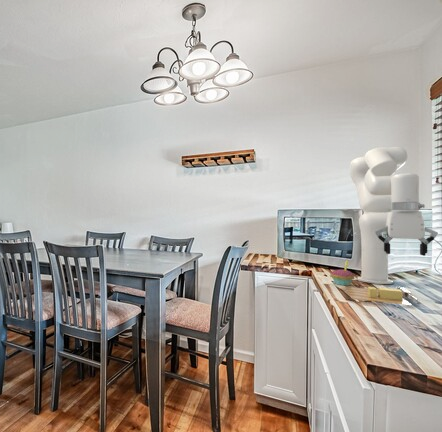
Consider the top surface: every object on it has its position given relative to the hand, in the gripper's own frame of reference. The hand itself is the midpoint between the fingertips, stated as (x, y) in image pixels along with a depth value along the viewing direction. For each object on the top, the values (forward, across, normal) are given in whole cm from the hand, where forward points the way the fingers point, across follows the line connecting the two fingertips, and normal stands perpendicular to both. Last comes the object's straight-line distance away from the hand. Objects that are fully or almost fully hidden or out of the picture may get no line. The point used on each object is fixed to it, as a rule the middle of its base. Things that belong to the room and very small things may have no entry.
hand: (405, 254), depth 116 cm
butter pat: (+15, +10, +6) cm, 19 cm away
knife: (+16, 0, +1) cm, 16 cm away
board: (+16, +9, +3) cm, 19 cm away
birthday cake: (+16, +18, -14) cm, 28 cm away
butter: (+15, +5, +6) cm, 17 cm away
